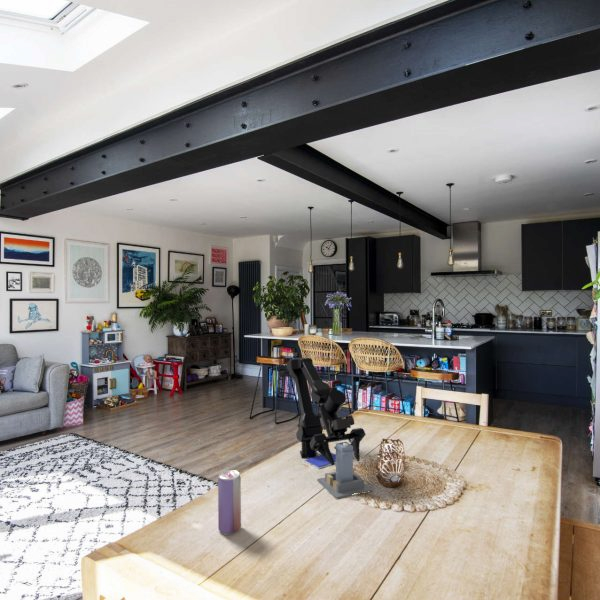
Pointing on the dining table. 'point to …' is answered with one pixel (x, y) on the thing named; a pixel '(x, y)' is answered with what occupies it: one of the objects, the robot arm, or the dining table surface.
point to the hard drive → (319, 461)
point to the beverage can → (229, 502)
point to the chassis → (343, 485)
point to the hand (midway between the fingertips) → (346, 462)
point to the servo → (344, 462)
